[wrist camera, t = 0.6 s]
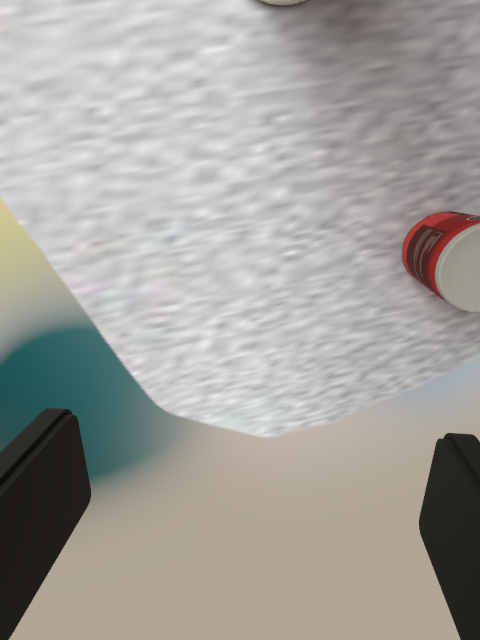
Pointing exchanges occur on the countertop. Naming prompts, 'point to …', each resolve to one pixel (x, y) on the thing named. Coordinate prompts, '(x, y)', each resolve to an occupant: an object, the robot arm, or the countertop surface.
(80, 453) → the robot arm
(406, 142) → the countertop surface
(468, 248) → the canned food
